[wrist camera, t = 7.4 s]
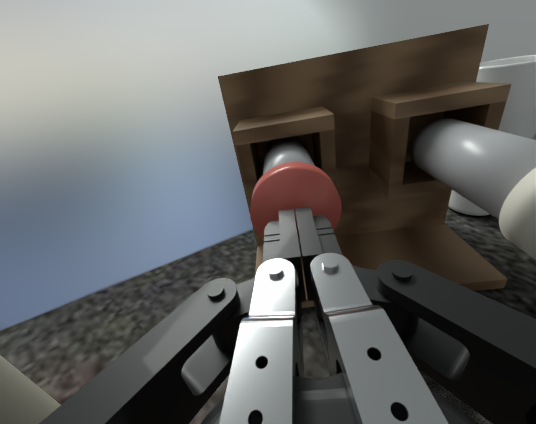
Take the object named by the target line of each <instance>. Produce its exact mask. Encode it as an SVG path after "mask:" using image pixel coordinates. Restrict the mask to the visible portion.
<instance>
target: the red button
mask: <svg viewBox="0 0 536 424" xmlns="http://www.w3.org/2000/svg"><path fill="white" fill-rule="evenodd" d="M308 206H310V208H311V212H312V215H313V216H318V215H323V216H325V217H326V218H327V219H328V220H329V221H330V223H331V226H332V229H333V230H334V229H335V228H336V226H337V224H338V222H339V219H340V216H341V209H342V206H341V199H340V196H339V194H338V191H337V190H336V188H335V186H334V184H333V182H332V181H331V179H330V178H329V176H328V175H327V174H326V173H325V172H324V171H322V170H321V169H319V168H318V167H316V166H315V165H314V163H313V161H312V159H311V157H310V154H309V152H308V150H307V148H306V146H305V144H304V142H303V141H302V140H301V139H299V138H298V137H296V136H292V137H286V138H280V139H273V140H272V141H271V142H270V143H269V144H268V146H267V148H266V151H265V157H264V168H263V176H262V177H261V178H260V179H259V181H258V182H257V184H256V186H255V188H254V191H253V194H252V200H251V207H250V215H251V221H252V224H253V226H254V228H255V230H256V231H257V233H258V234H259V235H260V236H261V237H262V238H263V239H264V228H265V227H266V226H267V224H268V223H269V222H273V221H279V210H286V209H294V215H295V222H296V214H295V208H301V207H308ZM296 228H297V222H296ZM297 235H298V230H297ZM298 242H299V238H298ZM299 248H300V245H299Z"/></svg>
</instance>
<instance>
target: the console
mask: <svg viewBox="0 0 536 424" xmlns="http://www.w3.org/2000/svg"><path fill="white" fill-rule="evenodd" d="M488 26H489V25H488V24H487V25H481V26H476V27H471V28H466V29H461V30H456V31H450V32H445V33H440V34H436V35H430V36H425V37H420V38H414V39H409V40H404V41H399V42H394V43H389V44H383V45H379V46H373V47H368V48H363V49H358V50H353V51H348V52H342V53H337V54H332V55H327V56H322V57H316V58H311V59H306V60H301V61H296V62H291V63H286V64H280V65H276V66H271V67H265V68H260V69H255V70H250V71H245V72H239V73H234V74H229V75H224V76H218V79H219V84H220V88H221V92H222V96H223V101H224V105H225V109H226V113H227V118H228V122H229V126H230V130H231V135H232V139H233V143H234V148H235V152H236V156H237V160H238V165H239V169H240V173H241V178H242V182H243V186H244V190H245V195H246V199H247V203H248V207H249V212H250V207H251V200H252V194H253V191H254V188H255V186H256V184H257V182H258V181H259V179H260V178H261V177H262V176H263V168H264V157H265V151H266V148H267V146H268V144H269V143H270V142H271V141H272V140H273V139H280V138H286V137H292V136H296V137H298V138H299V139H301V140H302V141H303V142H304V144H305V146H306V148H307V150H308V152H309V154H310V157H311V159H312V161H313V163H314V165H315V166H316V167H318V168H319V169H321V170H322V171H324V172H325V173H326V174H327V175H328V176H329V178H330V179H331V181H332V182H333V184H334V186H335V188H336V190H337V191H338V194H339V196H340V199H341V206H342V209H341V216H340V219H339V222H338V224H337V226H336V228H335V229H334V230H333V231H334V234H335V236H336V239H337V242H338V244H339V247H340V250H341V252H342V255H343V256H344V257H345V258H347V259H348V260H349V262H350V263H351V264H352V265H354V266H357V267H360V268H365V269H372V270H378V267H379V266H380V265H381V264H382V263H384V262H386V261H390V260H402V261H407V262H410V263H412V264H415V265H417V266H419V267H421V268H424V269H426V270H428V271H430V272H432V273H435V274H437V275H439V276H441V277H444V278H446V279H448V280H450V281H452V282H455V283H457V284H459V285H461V286H464V287H466V288H468V289H470V290H472V291H480V290H490V289H500V288H504V287H505V285H506V282H507V280H508V279H507V278H506V277H505V276H504V275H503V274H502V273H501V272H499V271H498V270H497V269H496V268H495V267H494V266H493V265H491V264H490V263H489V262H488V261H487V260H486V259H485V258H483V257H482V256H481V255H480V254H479V253H478V252H477V251H475V250H474V249H473V248H472V247H471V246H470V245H469V244H467V243H466V242H465V241H464V240H463V239H462V238H461V237H460V236H458V235H457V234H456V233H455V232H454V231H453V230H452V229H450V228H449V227H448V226H447V225H446V224H445V223H444V222H445V218H446V213H447V209H448V204H449V200H450V196H451V191H452V189H451V188H449V187H447V186H446V185H444V184H443V183H441V182H440V181H438V180H437V179H435V178H434V177H432V176H431V175H429V174H428V173H426V172H424V171H423V170H421V169H420V168H418V167H417V166H416V165H415V164H414V162H413V160H412V157H411V149H412V145H413V142H414V140H415V138H416V137H417V135H418V134H419V133H420V131H421V130H422V129H424V128H425V127H426V126H427V125H429V124H430V123H432V122H434V121H437V120H440V119H445V118H451V119H456V120H459V121H463V122H467V123H471V124H475V125H479V126H483V127H487V128H491V129H494V130H498V129H499V126H500V122H501V119H502V115H503V112H504V108H505V105H506V102H507V98H508V95H509V91H510V88H511V84H505V83H484V82H476V79H477V75H478V71H479V66H480V61H481V57H482V53H483V48H484V43H485V39H486V35H487V30H488ZM253 229H254V233H255V237H256V242H257V246H258V247H257V259H256V271H255V276H256V274H257V270H258V268H259V267H260V266H261V265H262V263H263V246H264V239H263V238H262V237H261V236H260V235H259V234H258V233H257V231H256V230H255V228H254V226H253ZM300 255H301V252H300ZM301 263H302V258H301ZM302 271H303V265H302ZM303 279H304V286H305V294H306V301H305V302H302V308H306V307H314V301H308V297H307V291H306V284H305V278H304V271H303Z"/></svg>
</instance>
